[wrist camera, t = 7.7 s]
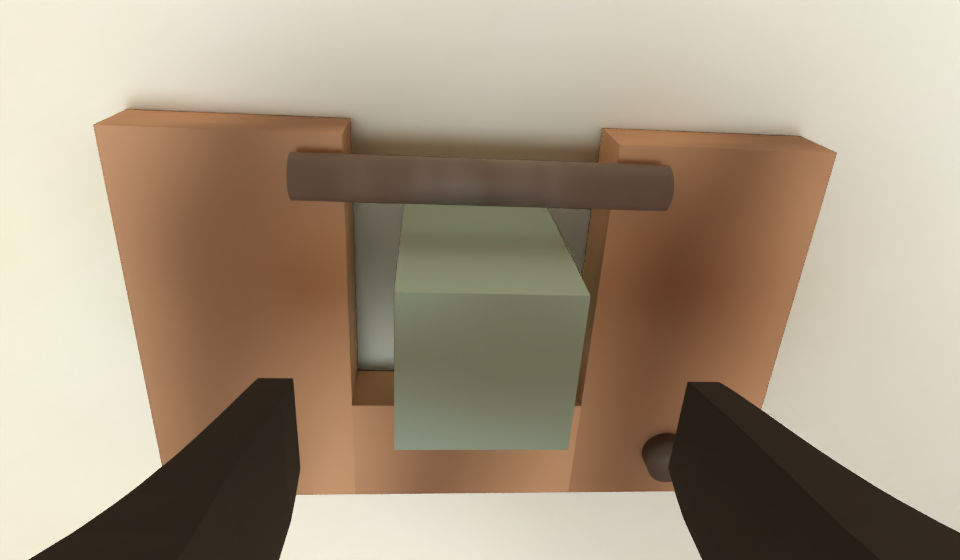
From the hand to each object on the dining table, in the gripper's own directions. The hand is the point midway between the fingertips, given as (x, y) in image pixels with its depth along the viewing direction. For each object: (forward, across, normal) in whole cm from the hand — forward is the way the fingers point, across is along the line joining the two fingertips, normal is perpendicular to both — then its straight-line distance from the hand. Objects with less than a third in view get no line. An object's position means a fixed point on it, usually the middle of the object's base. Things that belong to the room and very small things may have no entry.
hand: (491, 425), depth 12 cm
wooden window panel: (+6, 0, +1) cm, 6 cm away
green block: (+6, 0, 0) cm, 6 cm away
